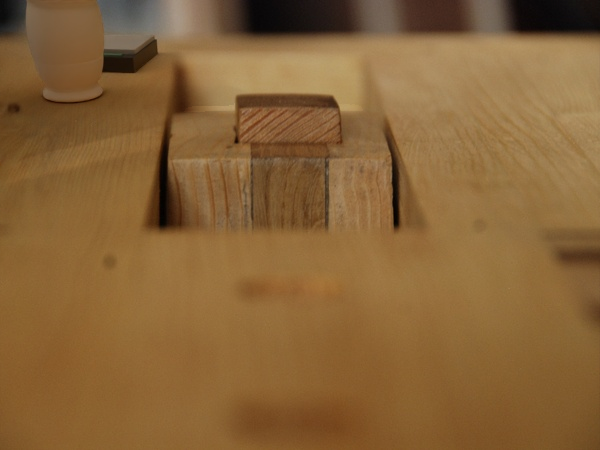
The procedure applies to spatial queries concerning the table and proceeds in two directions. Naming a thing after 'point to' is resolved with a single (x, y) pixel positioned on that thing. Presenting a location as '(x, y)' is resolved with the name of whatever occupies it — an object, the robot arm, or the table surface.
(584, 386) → the table surface
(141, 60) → the scale
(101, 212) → the table surface
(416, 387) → the table surface
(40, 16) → the jar
